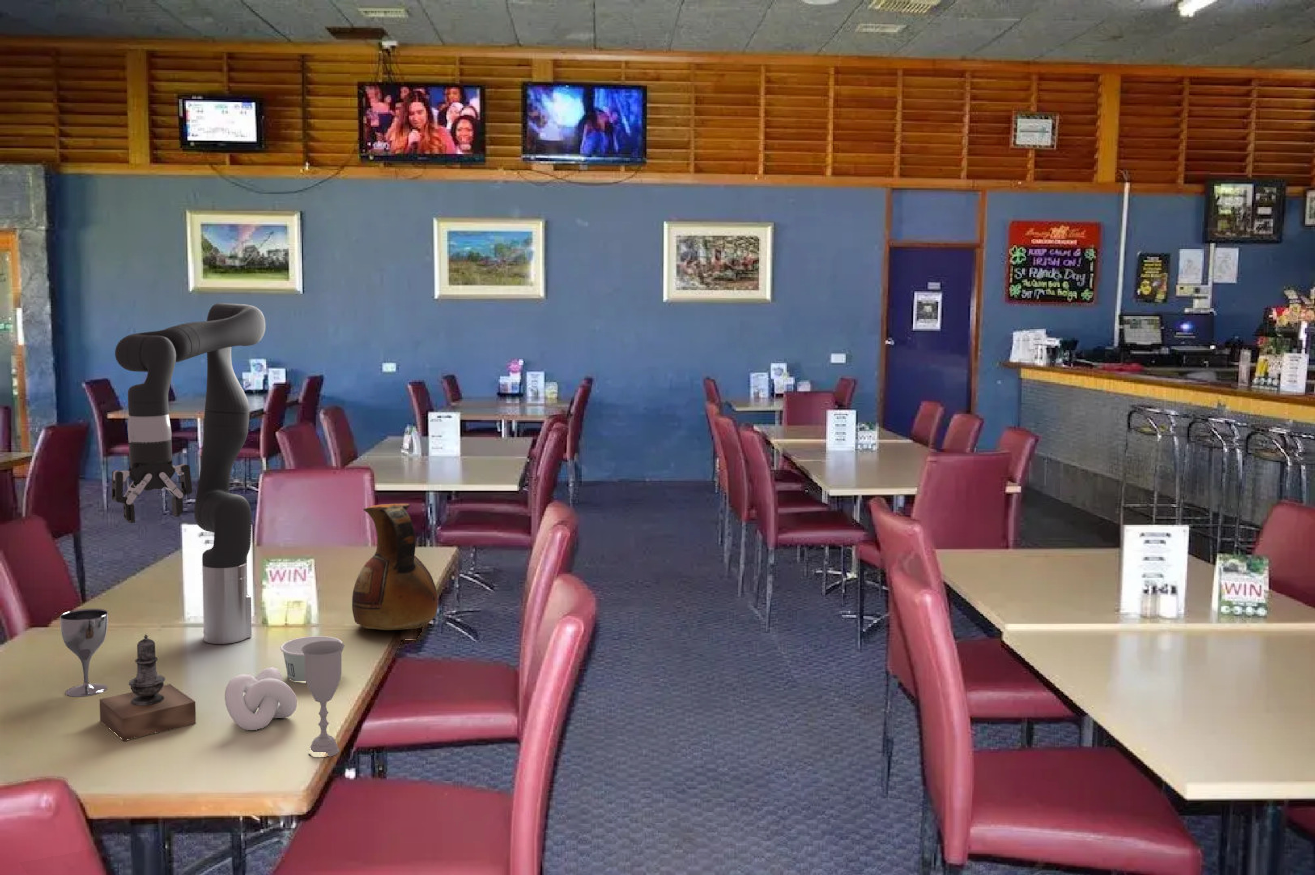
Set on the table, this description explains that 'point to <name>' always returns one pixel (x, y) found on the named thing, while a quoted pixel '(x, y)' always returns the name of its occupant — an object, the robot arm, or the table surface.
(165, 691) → the walnut base
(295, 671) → the food container
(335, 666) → the chalice
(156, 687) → the salt shaker
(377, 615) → the ceramic pitcher
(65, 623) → the silver goblet
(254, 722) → the white knot sculpture
